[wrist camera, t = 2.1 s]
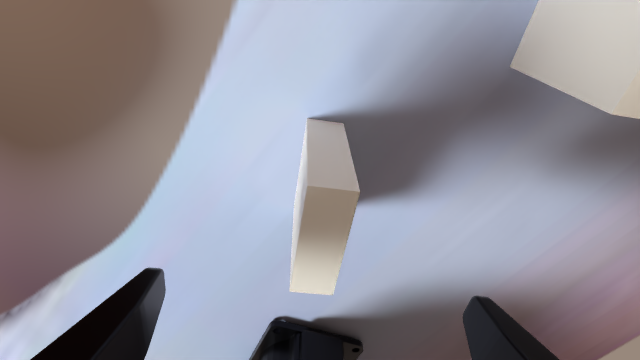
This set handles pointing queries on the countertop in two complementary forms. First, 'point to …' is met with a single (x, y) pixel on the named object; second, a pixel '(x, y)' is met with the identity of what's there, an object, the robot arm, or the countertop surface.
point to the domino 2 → (586, 51)
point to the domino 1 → (322, 208)
